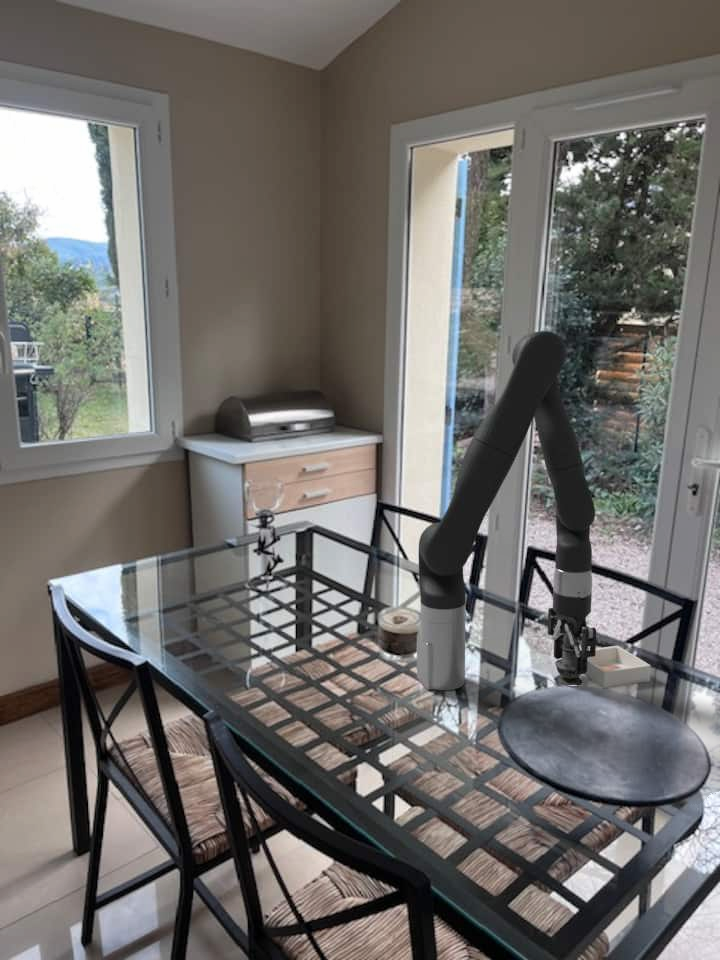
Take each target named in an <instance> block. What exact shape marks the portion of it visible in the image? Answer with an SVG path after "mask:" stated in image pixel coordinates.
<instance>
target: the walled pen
mask: <svg viewBox="0 0 720 960" xmlns="http://www.w3.org/2000/svg"><path fill="white" fill-rule="evenodd" d="M651 667H652V665H651V664H649V663H647V662H646V661H644V660H643V659H642V658H639V657H638V656H636V655H634V654H632V653H630V651H628V650H626V649H624V648H622V647H621V646H619V645H612V646H604V647H598V648H597V647H596V652H595V656H594V657H588V658H587V672H586V673H585V674H583V676H585V677H586V678H588V679H589V680H590V681H592V682H593V683H595V684H596V685H598V686H599V687H601V688H602V687H603V688H606V689H611V688H617V687H623V686H629V685H636V684H641V683H649V682H651V669H652V668H651ZM603 688H602V689H603Z"/></svg>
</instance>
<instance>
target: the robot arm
mask: <svg viewBox="0 0 720 960" xmlns="http://www.w3.org/2000/svg"><path fill="white" fill-rule="evenodd" d="M511 358H512V359H511V360H512V365H513V368H512V370H511V373H510V376H509V377H508V380H507V382H506V384H505V387H504V389H503V391H502V392H501V394H500V396H499V398H498V399H497V401H496V402H495V403H494V405H493V406H492V407H491V409H490V410H489V412H488V413H487V414H486V415H485V417H484V419H483V420H482V422H481V423H480V425H479V426H478V428H477V429H476V431H475V433H474V434H473V437H472V439H471V440H470V443H469V445H468V447H467V449H466V450H465V453H464V456H463V458H462V460H461V464H460V466H459V469H458V473H457V478H456V481H455V485H454V491H453V494H452V497H451V501H450V503H449V505H448V507H447V509H446V511H445V513H444V515H443V516H442V518H441V520H440V522H435V523H431V524H430V525H428V526H427V527H426V528H425V529H424V530H423V532H422V533H421V534H420V537H419V541H418V585H419V586H418V587H419V596H420V601H419V602H420V616H419V617H420V618H419V619H420V623H419V625H420V629H419V630H420V634H417V636H416V678H417V680H418V681H419V682H420V683H421V685H423V686H424V687H425V689H426V690H437V691H452V690H453V691H454V690H457V689H460V688H461V687H463V686H464V685H465V681H466V615H467V614H466V612H467V611H466V604H467V600H466V597H467V595H466V594H467V593H466V592H467V591H466V586H465V580H464V566H465V565H466V564H467V562H468V560H469V557H470V555H471V552H472V549H473V547H474V544H475V541H476V539H477V537H478V533H479V530H480V528H481V525H482V523H483V520H484V519H485V516H486V514H487V513H488V511H489V509H490V507H491V506H492V504H493V502H494V501H495V498H496V497H497V496H498V495H497V494H498V493H499V491H500V489H501V487H502V485H503V483H504V481H505V480H506V477H507V476H508V474H509V472H510V470H511V468H512V466H513V464H514V462H515V460H516V458H517V456H518V454H519V451H520V450H521V447H522V445H523V442H524V440H525V438H526V436H527V434H528V433H529V432H528V431H529V429H530V426H531V425H532V422H533V418H534V423H535V426H536V431H537V434H538V440H539V444H540V448H541V453H542V457H543V461H544V464H545V468H546V473H547V475H548V478H549V481H550V483H551V485H552V489H553V495H554V501H555V505H556V506H555V527H556V528H555V529H556V531H555V533H556V546H555V547H556V548H555V561H554V562H555V564H554V566H555V568H554V573H553V584H552V585H553V587H552V588H553V590H552V607H549V608H548V609H547V610H548V611H547V634H548V636H551V638H552V641H553V658H555V659H556V660H560V659H562V655H563V648H562V647H561V646H562V645H563V637H564V632H566V633H567V634H568V636H569V639H570V643H571V645H572V646H573V647H574V649H575V652H576V661H575V673H577V674H578V675H580V674H581V675H584V674H585V673H586V672H587V658H588V657H594V656H595V652H596V649H597V629H596V627H589V626H588V625H587V620H586V619H587V617H588V615H590V614H591V612H592V596H593V595H592V593H593V577H592V562H593V561H592V560H593V559H592V557H593V553H592V552H593V550H592V549H593V547H592V543H591V540H590V533H591V526H592V525H593V523H594V521H595V517H596V509H595V503H594V499H593V496H592V494H591V493H592V492H591V490H590V488H589V484H588V482H587V479H586V475H585V467H584V464H583V459H582V455H581V450H580V446H579V442H578V439H577V435H576V433H575V430H574V428H573V425H572V423H571V420H570V418H569V415H568V413H567V411H566V408H565V406H564V403H563V399H562V396H561V392H560V386H559V379H558V378H559V377H558V375H559V374H560V372H562V369H563V367H564V365H565V363H566V358H567V349H566V346H565V342H564V341H563V339H562V338H561V337H560V336H559V335H557V334H556V333H554V332H552V331H549V330H548V331H547V330H539V331H535V332H532V333H529V334H527V335H525V336H523V337H521V338H520V339H519V340H518V341H517V342H516V343H515V346H514V348H513V350H512V357H511ZM554 625H555V627H554ZM575 639H578V641H576V640H575ZM580 639H581V640H580ZM580 646H581V647H580ZM580 648H581V649H580ZM581 675H580V676H581Z"/></svg>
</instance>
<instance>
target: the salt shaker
mask: <svg viewBox="0 0 720 960" xmlns="http://www.w3.org/2000/svg"><path fill="white" fill-rule="evenodd" d="M575 640H576V641H579V639H575ZM561 647H562V648H563V655H562V658H561V659H556V661H555V662H554V663H555V664H554V665H555V667H556V671H557V673H558V674H559V675H558V676H556V677H555V678H556V679H555V681H556V682H557V683H558V684H559V685H562V686H565V685H579V686H581V685H582V684H583V679H582V678H580V676H582V674H580V675H578V674H577V673H575V661H576V652H575V649H574V647H573V646H572V645H571V643H570V639H569V636H568V634H567V633H566V632H564V637H563V645H562V646H561Z"/></svg>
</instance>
